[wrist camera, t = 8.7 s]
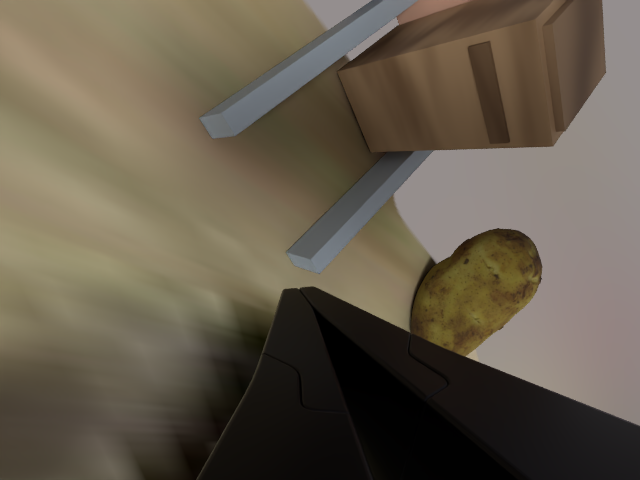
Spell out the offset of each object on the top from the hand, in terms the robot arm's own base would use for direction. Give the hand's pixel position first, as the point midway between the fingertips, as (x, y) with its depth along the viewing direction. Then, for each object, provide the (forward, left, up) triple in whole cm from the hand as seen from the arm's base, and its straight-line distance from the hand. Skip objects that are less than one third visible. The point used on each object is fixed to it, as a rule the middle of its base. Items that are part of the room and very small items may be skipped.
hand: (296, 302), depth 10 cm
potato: (+17, -20, -12) cm, 29 cm away
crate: (+19, -2, -12) cm, 22 cm away
